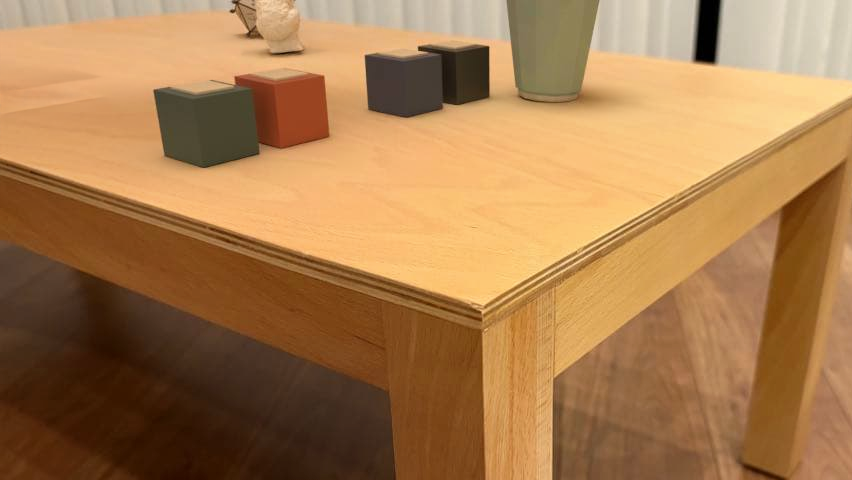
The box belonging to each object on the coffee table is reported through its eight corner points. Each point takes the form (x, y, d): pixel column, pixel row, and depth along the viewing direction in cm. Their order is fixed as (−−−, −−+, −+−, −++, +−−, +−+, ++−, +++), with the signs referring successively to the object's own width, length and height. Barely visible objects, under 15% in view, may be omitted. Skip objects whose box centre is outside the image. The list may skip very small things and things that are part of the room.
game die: (275, 60, 124) (303, -1, 125) (281, 47, 116) (311, -19, 117) (214, 29, 121) (243, -34, 122) (216, 13, 113) (247, -54, 114)
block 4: (457, 104, 83) (456, 49, 81) (419, 97, 86) (417, 44, 84) (489, 96, 87) (489, 43, 85) (452, 90, 89) (451, 38, 87)
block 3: (406, 117, 78) (403, 59, 76) (367, 109, 81) (364, 52, 78) (443, 108, 82) (441, 52, 79) (405, 100, 84) (402, 46, 82)
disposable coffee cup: (522, 82, 94) (524, -67, 88) (616, 91, 91) (626, -63, 84) (482, 101, 85) (481, -64, 79) (585, 112, 82) (592, -59, 75)
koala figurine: (303, 45, 114) (294, -53, 108) (327, 52, 109) (319, -50, 104) (241, 51, 109) (229, -52, 103) (264, 58, 104) (251, -48, 99)
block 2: (281, 148, 68) (273, 81, 66) (241, 137, 70) (233, 73, 68) (329, 136, 71) (324, 72, 69) (290, 126, 74) (284, 65, 72)
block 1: (203, 167, 63) (192, 96, 60) (164, 155, 65) (152, 86, 63) (260, 153, 66) (251, 85, 64) (220, 142, 69) (211, 77, 67)
